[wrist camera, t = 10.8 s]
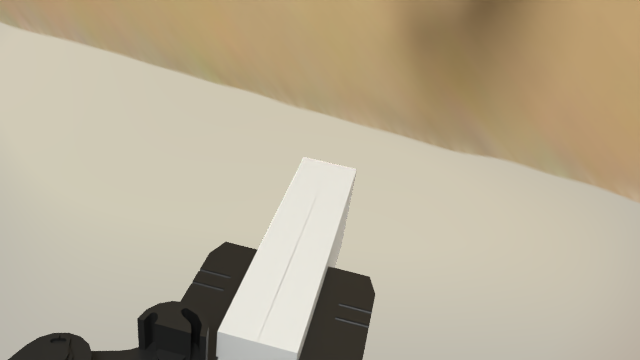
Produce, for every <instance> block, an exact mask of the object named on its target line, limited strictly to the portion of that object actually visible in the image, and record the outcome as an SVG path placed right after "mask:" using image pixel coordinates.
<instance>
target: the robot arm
mask: <svg viewBox="0 0 640 360" xmlns="http://www.w3.org/2000/svg"><path fill="white" fill-rule="evenodd" d="M355 175H356V169H354V168H350V167H345V166H341V165H337V164H333V163H328V162H324V161H320V160H315V159H311V158H307V157H303V159H302V161H301V163H300V165H299V167H298V169H297V171H296V173H295V175H294V177H293V179H292V181H291V184H290V186H289V188H288V190H287V192H286V194H285V196H284V198H283V200H282V202H281V204H280V206H279V208H278V210H277V212H276V214H275V216H274V218H273V220H272V222H271V224H270V226H269V228H268V230H267V232H266V234H265V236H264V238H263V240H262V242H261V244H260V246H259V248H258V250H256V249H252V248H248V247H244V246H240V245H236V244H232V243H229V242H225V243H223V244H222V245H221V246H219V247H218V248H216V249H215V250H213V251H212V252H211V253H209V255H208V257H207V258H206V260H205V262H204V263H203V265H202V267H201V268H200V271H199V272H198V273H197V275H196V277H195V278H194V280H193V283H192V284H191V285H190V287H189V288H188V290H187V292H186V293H185V295H184V297H183V298H182V300H181V302H176V301H171V302H165V303H159V304H157V305H155V306H153V307H151V308H149V309H147V310H146V311H145V312H144V313H143V314H142V315H141V316H140V317H139V318H138V338H139V347H138V348H134V349H131V350H122V351H91V349H90V346H89V344H88V343H87V342H86V341H85V340H84V339H83V338H81V337H80V336H77V335H74V334H70V333H53V334H49V335H46V336H42V337H39V338H37V339H36V340H34V341H32V342H31V343H29V344H27V345H26V346H25V347H23V348H22V349H21V350H19V351H18V352H17V353H16V354H14V355H13V356H12V357H11V358H10V359H8V360H362V358H363V354H364V349H365V343H366V338H367V333H368V328H369V323H370V318H371V313H372V308H373V303H374V297H375V292H374V289H373V286H372V283H371V280H370V277H368V276H364V275H360V274H356V273H353V272H349V271H344V270H341V269H337V268H335V264H336V261H337V258H338V254H339V251H340V248H341V244H342V239H343V234H344V229H345V224H346V219H347V214H348V210H349V205H350V200H351V195H352V190H353V185H354V180H355Z"/></svg>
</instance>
